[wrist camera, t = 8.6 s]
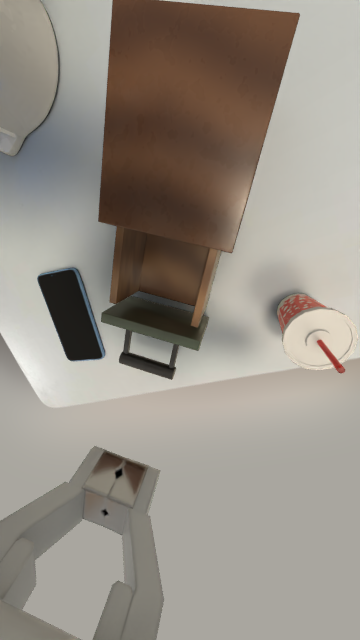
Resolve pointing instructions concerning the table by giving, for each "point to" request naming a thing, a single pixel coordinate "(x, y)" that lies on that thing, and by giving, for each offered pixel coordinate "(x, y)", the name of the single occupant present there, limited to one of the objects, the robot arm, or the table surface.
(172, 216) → the cabinet
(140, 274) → the drawer
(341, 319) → the beverage cup
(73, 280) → the smartphone
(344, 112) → the table surface
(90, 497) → the robot arm
